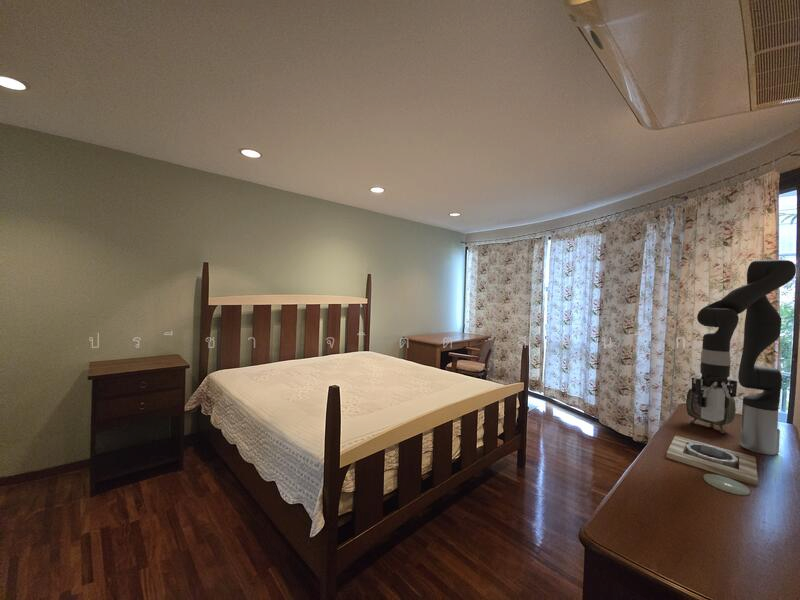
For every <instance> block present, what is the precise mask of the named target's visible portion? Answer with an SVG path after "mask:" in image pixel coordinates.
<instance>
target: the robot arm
mask: <svg viewBox="0 0 800 600" xmlns="http://www.w3.org/2000/svg"><path fill="white" fill-rule="evenodd" d="M796 273H797V267H796V264H795V263H794V262H793V261H791V260H788V259H759V260H753V261H752V262H750V264H749V265H748V267H747V271H746V285H742V286H740V287H737V288H734V289H733V290H732V291H730V292H728V294H726V295H725V296H724V297H722V299H719V300H717V301H715V302H712V303H710V304H708V305H706V306H704V307H703V308H701V309H700V310H699V311H698V313H697V315H696V318H697V319H696V320H697V322H698V323H699V324H700V325H702V326H703V327H709V328H717V330H716V331H715V332H714V333H713V332H712V333H711V332H709V333H705V334H703V336H702V349H701V352H700V369H699V370H700V371H699V373H700V374H701V376H700V377H699V378H698V377H691V389H692V393H693V394H696V395H697V396H698V400H697V403H698V405H699V406H701V407H706V396H707V394H708V393H710V392H711V390H710V389H711V388H714V387H718V388H723V390H724V393H725V408H728V406H729V399H730V398H731V397H734V398H735V397H737V391H738V390H737V389H738V383H739V385H740V387H743V388H745V389H752V390H760V391H762V392H761V393H758V394H752V395H746V396H744V397H743V398H742V412H741V416H742V417H741V431H740V432H741V433H740V446H741V447H742V448H744V449H746V450H749V451H751V452H753V453H758V454H763V455H767V456H776V455H779V454H780V453H779V452H780V437H781V435H780V434H781V430H780V429H779V428H778V422H779V408H780V407H779V405H780V402H781V393H782V392H781V391H782V386H783V385H782V384H783V375H782V373H781V371H780V370H779V369H778V368H776V367H770V366H761V365H755V364H756V362H757V360H758V358H759V356H760V355H761V354H762V353H763V352H764V351H765V350H766V349H768V348H769V347H771V345H772V344H774V343H775V342H776V341H777V340H778V339H779V337H780V335H781V329H782V320H783V319H782V316H781V315H780V313H779V312H778V310H777V309H776V308H775V307H774V305H773V304H772V303H771V302H770V300H769V299H768V297H767V295H768V294H770V293H772V292H774V291H776V290H778V289H780V288H781V287H784V286H785V285H787V284H788V283H790V282H791V281H792V280H793V279H794V277H795V276H796ZM743 312H746V313H745V318H744V327H743V328H744V329H743V345H742V353H741V358H740V363H739V368H738V373H737V374H738V375H737V376H738V377H737V379H738V381H737V380H734V379H732V378H731V379H730V378H729V377H730V374H731V373H730V372H731V339H732V337H733V334H734V332H735V330H736V328H737V326H738V323H739V321H740V320H739V318H740V316H739V315H740V314H742V313H743ZM703 386H706V387H708V388H707V389H705V388H703ZM703 390H704V392H703ZM778 453H779V454H778Z"/></svg>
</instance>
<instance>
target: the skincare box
mask: <svg viewBox="0 0 800 600" xmlns="http://www.w3.org/2000/svg"><path fill="white" fill-rule="evenodd" d="M703 388H705V389H707V388H708V387H706V386H703ZM710 390H711V392H710V393H708V394H707V396H706V407H701V418H703V419H706V420H709V421H713V422H717V421H720V420H724V408H725V393H724V390H723V388H718V387H714V388H711V389H710ZM703 392H704V390H703Z"/></svg>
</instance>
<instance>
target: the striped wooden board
mask: <svg viewBox="0 0 800 600" xmlns="http://www.w3.org/2000/svg"><path fill="white" fill-rule="evenodd" d="M690 443H695V444H703V445H708V446H712V447H715V448H718V449H721V450H724V451H727V452H729V453H731V454H733V455H734V456H735V457H736V458H737V459H738V468H737V469H734V468H731V467H728V466H724V465H721V464H718V463H714V462H711V461H708V460H704V459H701V458H698V457H694V456H691V455H688V454H686V445H687V444H690ZM666 458H667V459H670V460H673V461H676V462H679V463H683V464H685V465H688V466H689V465H690V466H692V467H696V468H699V469H702V470H705V471H707V472H708V471H709V472H711V473H713V474H716V475H720V476H724V477H727V478H730V479H733V480H735V481H738V482H739V481H740V482H743V483H747V484H749V485H752V486H756V487H758V485H759V484H758V481H759V480H758V478H759V477H758V468H757V459H756V456H753V455H749V454H746V453H743V452H738V451H733V450H732V449H731V450H729V449H726V448H722V447H719V446H716V445H711V444H708V443H705V442H701V441H697V440H694V439H690V438H686V437H683V436H679V435H674V437H673V439H672V441H671V442H670V445H669V447H668V449H667V451H666Z"/></svg>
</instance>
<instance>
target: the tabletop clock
mask: <svg viewBox="0 0 800 600" xmlns="http://www.w3.org/2000/svg"><path fill="white" fill-rule="evenodd" d="M697 400H698V396H697V395H696V394H693V393H692V388H689V390H688V391H687V394H686V400H685V401H686V402H685V407H686V408H685V409H686V413H687V415H688V416H689V417H691V418H693V420H690V421H689V424H691V423H693V424H692V425H695V422H696V421H697V420H699V421H701V422H704V423H707V424H709V427H710V426H711V427H710V428H712V427H713V428H715V425H716V426H719V428H720V430H719V432H720V433H721V434H722V433H723V434H722V435H724V434H726V431H725V430H724V429H723V426H726V425H729V424H732V423H733V422H734V420H735V418H736V417H735V415H736V410H737V409H736V408H737V407H736V400H735V397H731V398H730V399H729V406H728V408H724V420H720V421H717V422H713V421H709V420H706V419H703V418H701V406H699V405H698V403H697Z"/></svg>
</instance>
